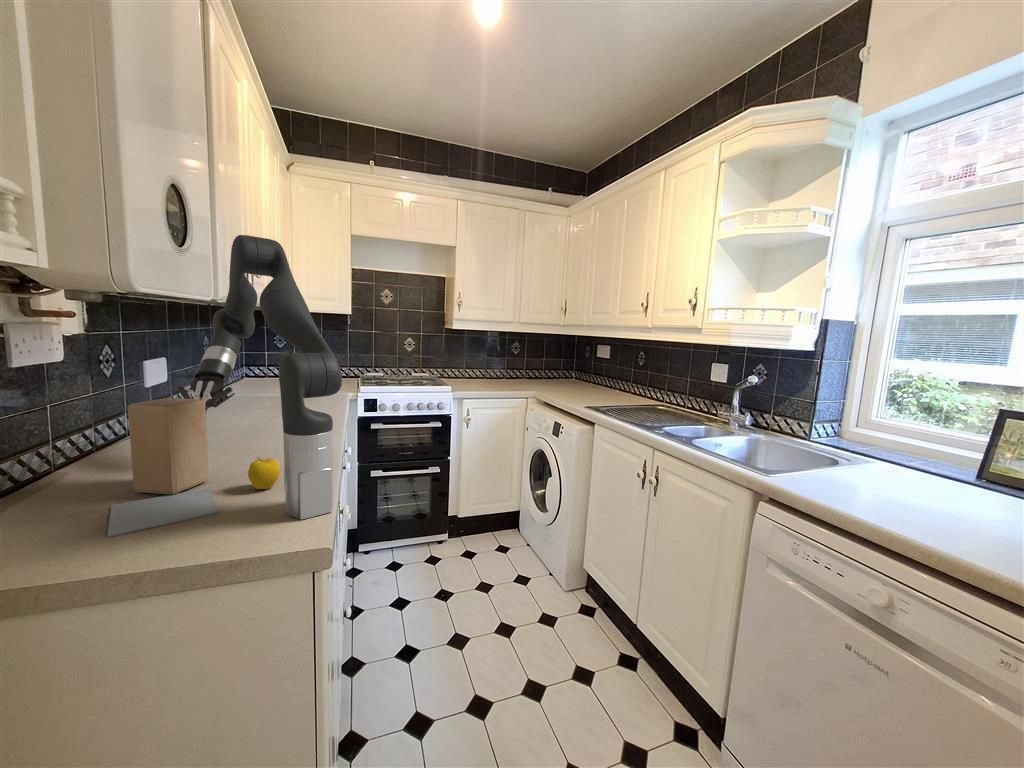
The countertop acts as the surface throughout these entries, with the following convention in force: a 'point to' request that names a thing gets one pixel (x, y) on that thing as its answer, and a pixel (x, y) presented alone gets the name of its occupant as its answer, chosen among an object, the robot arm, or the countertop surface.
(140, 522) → the mat
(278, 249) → the robot arm
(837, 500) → the countertop surface
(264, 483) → the apple
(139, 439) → the block
